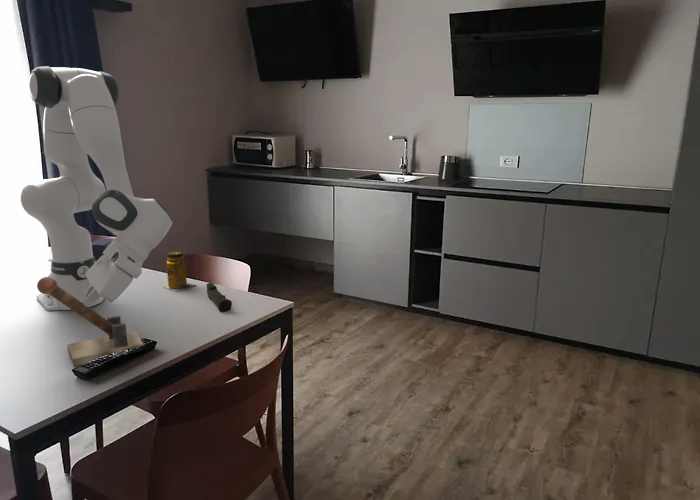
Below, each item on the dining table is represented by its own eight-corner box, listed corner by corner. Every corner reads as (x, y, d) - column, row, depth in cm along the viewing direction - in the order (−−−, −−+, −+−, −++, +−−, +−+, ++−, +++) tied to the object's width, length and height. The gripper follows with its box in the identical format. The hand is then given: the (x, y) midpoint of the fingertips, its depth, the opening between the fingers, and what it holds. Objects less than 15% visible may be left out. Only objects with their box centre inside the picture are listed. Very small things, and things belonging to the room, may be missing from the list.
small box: (107, 272, 206) (104, 244, 203) (89, 271, 206) (86, 244, 203) (119, 264, 216) (116, 238, 213) (102, 264, 216) (99, 238, 213)
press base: (135, 337, 146) (132, 311, 144) (144, 351, 138) (141, 323, 136) (67, 351, 138) (64, 323, 136) (73, 366, 130) (69, 337, 128)
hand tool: (232, 311, 166) (231, 297, 165) (219, 313, 165) (218, 298, 164) (217, 293, 183) (216, 280, 182) (204, 295, 181) (204, 281, 180)
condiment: (163, 287, 188) (160, 253, 185) (184, 281, 195) (182, 248, 192) (175, 291, 184) (172, 256, 181) (197, 285, 190) (194, 252, 187)
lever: (125, 327, 141) (45, 271, 128) (128, 333, 138) (47, 275, 125) (113, 340, 140) (32, 284, 127) (117, 345, 137) (33, 289, 124)
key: (60, 259, 224) (48, 260, 222) (59, 256, 224) (48, 257, 222) (60, 266, 214) (48, 267, 212) (60, 264, 214) (47, 265, 212)
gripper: (103, 242, 142) (66, 286, 139) (121, 259, 125) (79, 309, 123) (123, 256, 145) (87, 299, 142) (143, 275, 129) (103, 323, 126)
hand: (84, 304), depth 132 cm, fingers closed, pressing on lever
